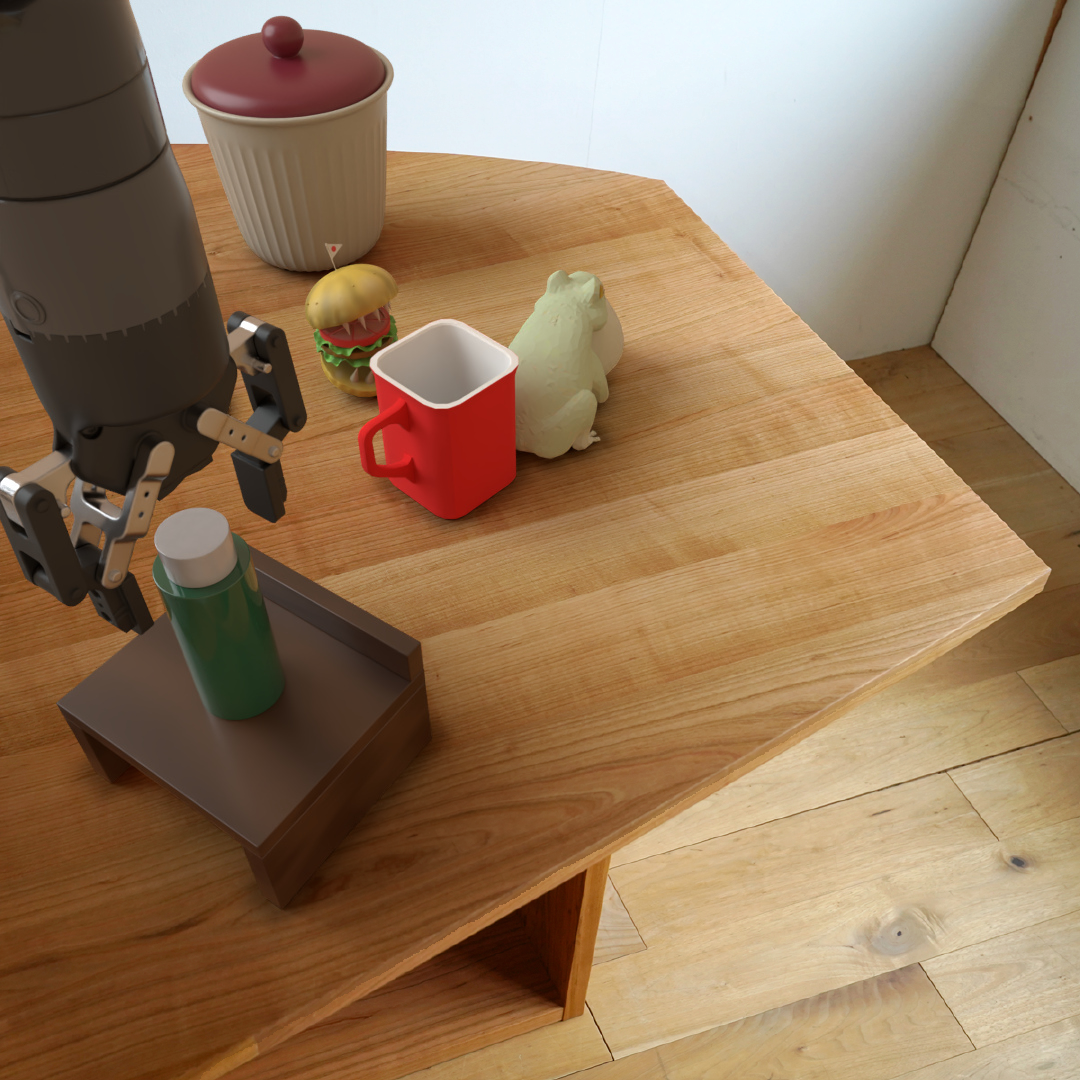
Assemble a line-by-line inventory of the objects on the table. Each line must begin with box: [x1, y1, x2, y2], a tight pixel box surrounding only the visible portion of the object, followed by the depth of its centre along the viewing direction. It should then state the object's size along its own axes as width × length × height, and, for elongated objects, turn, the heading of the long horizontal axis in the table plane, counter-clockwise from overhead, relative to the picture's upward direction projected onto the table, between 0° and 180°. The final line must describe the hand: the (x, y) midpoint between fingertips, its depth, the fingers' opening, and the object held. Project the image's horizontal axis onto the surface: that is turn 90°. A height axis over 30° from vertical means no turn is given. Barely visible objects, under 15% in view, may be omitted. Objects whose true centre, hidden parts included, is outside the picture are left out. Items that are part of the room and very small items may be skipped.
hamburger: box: [304, 243, 400, 398], centre depth 83 cm, size 8×7×12 cm
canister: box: [181, 15, 395, 273], centre depth 94 cm, size 18×18×21 cm
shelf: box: [56, 544, 433, 910], centre depth 58 cm, size 13×15×9 cm
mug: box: [357, 318, 519, 520], centre depth 74 cm, size 12×8×11 cm
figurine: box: [507, 269, 625, 460], centre depth 82 cm, size 10×16×10 cm, turn 157°
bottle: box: [151, 507, 285, 720], centre depth 52 cm, size 5×5×12 cm
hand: (203, 565), depth 50 cm, fingers open, 8 cm apart
